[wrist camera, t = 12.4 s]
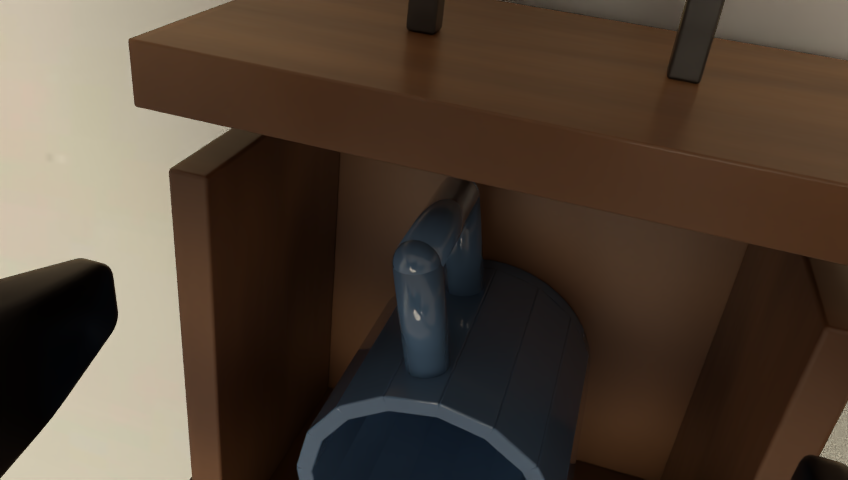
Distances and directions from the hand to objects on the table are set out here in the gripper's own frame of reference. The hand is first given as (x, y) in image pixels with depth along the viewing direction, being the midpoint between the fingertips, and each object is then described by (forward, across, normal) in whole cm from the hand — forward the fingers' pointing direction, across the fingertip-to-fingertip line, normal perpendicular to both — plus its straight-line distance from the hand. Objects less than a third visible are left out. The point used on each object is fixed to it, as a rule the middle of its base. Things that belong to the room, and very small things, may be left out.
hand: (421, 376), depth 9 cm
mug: (+10, +1, +6) cm, 11 cm away
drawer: (+11, 0, +2) cm, 11 cm away
